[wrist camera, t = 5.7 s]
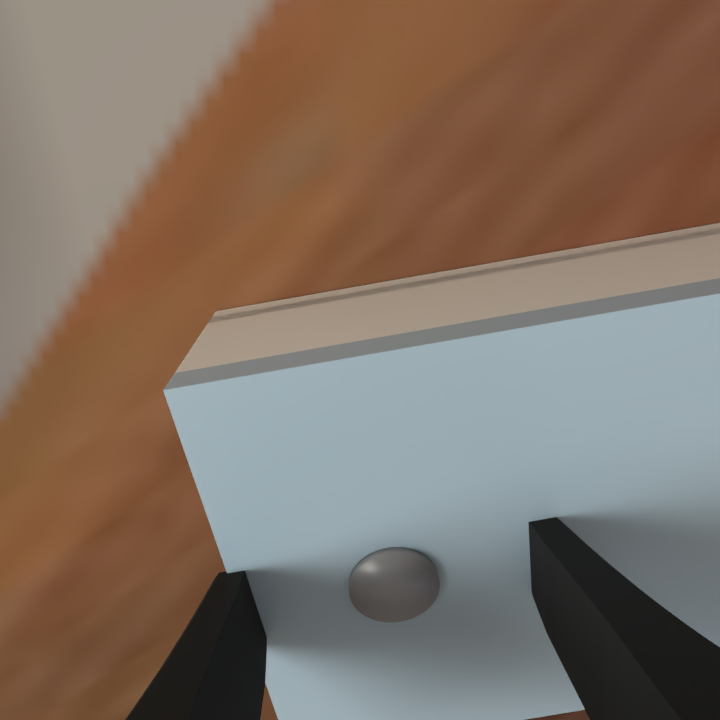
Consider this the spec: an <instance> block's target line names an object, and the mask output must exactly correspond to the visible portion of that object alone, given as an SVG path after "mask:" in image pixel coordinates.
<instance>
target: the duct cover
mask: <svg viewBox="0 0 720 720" xmlns="http://www.w3.org/2000/svg"><path fill="white" fill-rule="evenodd" d="M163 391H164V394H165V397H166V400H167V403H168V406H169V408H170V411H171V414H172V417H173V420H174V423H175V426H176V428H177V431H178V434H179V437H180V440H181V443H182V446H183V448H184V451H185V454H186V457H187V460H188V463H189V466H190V468H191V471H192V474H193V477H194V480H195V483H196V486H197V489H198V491H199V494H200V497H201V500H202V503H203V506H204V509H205V511H206V514H207V517H208V520H209V523H210V526H211V529H212V531H213V534H214V537H215V540H216V543H217V546H218V549H219V551H220V554H221V557H222V560H223V563H224V566H225V569H226V571H227V573H233V572H239V571H244V570H245V573H246V576H247V579H248V582H249V585H250V588H251V591H252V594H253V597H254V600H255V603H256V606H257V609H258V612H259V615H260V618H261V621H262V624H263V627H264V630H265V633H266V636H267V654H266V677H265V683H266V686H267V689H268V692H269V694H270V697H271V700H272V703H273V706H274V709H275V712H276V714H277V717H278V720H525V719H531V718H537V717H543V716H549V715H555V714H561V713H567V712H573V711H579V710H585V708H584V706H583V704H582V702H581V700H580V698H579V697H578V695H577V693H576V691H575V689H574V687H573V685H572V683H571V681H570V679H569V677H568V675H567V673H566V671H565V669H564V667H563V665H562V663H561V661H560V659H559V657H558V655H557V653H556V651H555V649H554V647H553V645H552V643H551V641H550V639H549V637H548V635H547V632H546V630H545V627H544V625H543V622H542V620H541V617H540V614H539V612H538V609H537V606H536V604H535V601H534V598H533V595H532V590H531V567H530V545H529V523H528V522H531V521H537V520H542V519H548V518H553V517H557V518H558V519H559V520H561V521H562V522H563V523H564V524H565V525H566V526H567V527H569V528H570V529H571V530H572V531H573V532H574V533H575V534H576V535H577V536H578V537H579V538H581V539H582V540H583V541H584V542H585V543H586V544H587V545H588V546H590V547H591V548H592V549H593V550H594V551H595V552H596V553H598V554H599V555H600V556H601V557H602V558H603V559H604V560H606V561H607V562H608V563H609V564H610V565H611V566H613V567H614V568H615V569H616V570H617V571H619V572H620V573H621V574H622V575H624V576H625V577H626V578H627V579H628V580H630V581H631V582H632V583H633V584H635V585H636V586H637V587H638V588H639V589H641V590H642V591H643V592H644V593H646V594H647V595H648V596H650V597H651V598H652V599H653V600H655V601H656V602H657V603H659V604H660V605H661V606H663V607H664V608H665V609H667V610H668V611H669V612H671V613H672V614H673V615H675V616H676V617H677V618H679V619H680V620H681V621H683V622H684V623H686V624H687V625H688V626H690V627H691V628H693V629H694V630H695V631H697V632H698V633H700V634H701V635H702V636H704V637H705V638H707V639H708V640H710V641H711V642H713V643H714V644H716V645H717V646H719V647H720V278H717V279H711V280H706V281H700V282H694V283H688V284H683V285H677V286H671V287H665V288H660V289H654V290H648V291H642V292H637V293H631V294H625V295H620V296H614V297H608V298H602V299H597V300H591V301H585V302H579V303H574V304H568V305H562V306H556V307H551V308H545V309H539V310H533V311H528V312H522V313H516V314H510V315H505V316H499V317H493V318H487V319H482V320H476V321H470V322H464V323H459V324H453V325H447V326H442V327H436V328H430V329H424V330H419V331H413V332H407V333H401V334H396V335H390V336H384V337H378V338H373V339H367V340H361V341H355V342H350V343H344V344H338V345H332V346H327V347H321V348H315V349H309V350H304V351H298V352H292V353H286V354H281V355H275V356H269V357H264V358H258V359H252V360H246V361H241V362H235V363H229V364H223V365H218V366H212V367H206V368H200V369H195V370H189V371H183V372H177V373H175V374H174V375H173V377H172V378H171V379H170V381H169V382H168V384H167V385H166V387H165V388H164V390H163Z"/></svg>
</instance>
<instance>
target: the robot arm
mask: <svg viewBox="0 0 720 720" xmlns="http://www.w3.org/2000/svg"><path fill="white" fill-rule="evenodd" d="M528 523H529V545H530V567H531V590H532V595H533V598H534V601H535V604H536V606H537V609H538V612H539V614H540V617H541V620H542V622H543V625H544V627H545V630H546V632H547V635H548V637H549V639H550V641H551V643H552V645H553V647H554V649H555V651H556V653H557V655H558V657H559V659H560V661H561V663H562V665H563V667H564V669H565V671H566V673H567V675H568V677H569V679H570V681H571V683H572V685H573V687H574V689H575V691H576V693H577V695H578V697H579V698H580V700H581V702H582V704H583V706H584V708H585V710H586V712H587V714H588V716H589V718H590V720H720V647H719V646H717V645H716V644H714V643H713V642H711V641H710V640H708V639H707V638H705V637H704V636H702V635H701V634H700V633H698V632H697V631H695V630H694V629H693V628H691V627H690V626H688V625H687V624H686V623H684V622H683V621H681V620H680V619H679V618H677V617H676V616H675V615H673V614H672V613H671V612H669V611H668V610H667V609H665V608H664V607H663V606H661V605H660V604H659V603H657V602H656V601H655V600H653V599H652V598H651V597H650V596H648V595H647V594H646V593H644V592H643V591H642V590H641V589H639V588H638V587H637V586H636V585H635V584H633V583H632V582H631V581H630V580H628V579H627V578H626V577H625V576H624V575H622V574H621V573H620V572H619V571H617V570H616V569H615V568H614V567H613V566H611V565H610V564H609V563H608V562H607V561H606V560H604V559H603V558H602V557H601V556H600V555H599V554H598V553H596V552H595V551H594V550H593V549H592V548H591V547H590V546H588V545H587V544H586V543H585V542H584V541H583V540H582V539H581V538H579V537H578V536H577V535H576V534H575V533H574V532H573V531H572V530H571V529H570V528H569V527H567V526H566V525H565V524H564V523H563V522H562V521H561V520H559V519H558V518H557V517H553V518H548V519H542V520H537V521H531V522H528ZM266 654H267V636H266V633H265V630H264V627H263V624H262V621H261V618H260V615H259V612H258V609H257V606H256V603H255V600H254V597H253V594H252V591H251V588H250V585H249V582H248V579H247V576H246V573H245V570H244V571H239V572H233V573H227V572H221V573H219V574H218V575H217V576H216V578H215V579H214V581H213V583H212V584H211V586H210V588H209V590H208V591H207V593H206V595H205V596H204V598H203V600H202V602H201V603H200V605H199V607H198V608H197V610H196V612H195V614H194V615H193V617H192V619H191V620H190V622H189V624H188V625H187V627H186V629H185V630H184V632H183V634H182V635H181V637H180V638H179V640H178V642H177V643H176V645H175V646H174V648H173V650H172V651H171V653H170V654H169V656H168V658H167V659H166V661H165V662H164V664H163V665H162V667H161V669H160V670H159V672H158V673H157V675H156V676H155V678H154V679H153V680H152V682H151V683H150V685H149V686H148V688H147V689H146V691H145V692H144V694H143V695H142V696H141V698H140V699H139V701H138V702H137V704H136V705H135V707H134V708H133V710H132V711H131V712H130V714H129V715H128V717H127V718H126V719H125V720H260V716H261V709H262V702H263V695H264V687H265V677H266Z"/></svg>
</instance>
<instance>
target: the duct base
mask: <svg viewBox="0 0 720 720" xmlns="http://www.w3.org/2000/svg"><path fill="white" fill-rule="evenodd" d="M717 278H720V223H717V224H711V225H705V226H699V227H694V228H688V229H682V230H677V231H671V232H665V233H660V234H654V235H648V236H642V237H637V238H631V239H625V240H620V241H614V242H608V243H602V244H597V245H591V246H585V247H580V248H574V249H568V250H563V251H557V252H551V253H545V254H540V255H534V256H528V257H523V258H517V259H511V260H505V261H500V262H494V263H488V264H483V265H477V266H471V267H466V268H460V269H454V270H448V271H443V272H437V273H431V274H426V275H420V276H414V277H408V278H403V279H397V280H391V281H386V282H380V283H374V284H369V285H363V286H357V287H351V288H346V289H340V290H334V291H329V292H323V293H317V294H312V295H306V296H300V297H294V298H289V299H283V300H277V301H272V302H266V303H260V304H254V305H249V306H243V307H237V308H232V309H226V310H220V311H216V312H215V313H214V315H213V316H212V318H211V319H210V321H209V322H208V324H207V325H206V327H205V328H204V330H203V331H202V333H201V334H200V336H199V337H198V339H197V340H196V342H195V343H194V345H193V347H192V348H191V350H190V351H189V353H188V354H187V356H186V357H185V359H184V360H183V362H182V363H181V365H180V366H179V368H178V369H177V371H176V372H175V373H177V372H183V371H189V370H195V369H200V368H206V367H212V366H218V365H223V364H229V363H235V362H241V361H246V360H252V359H258V358H264V357H269V356H275V355H281V354H286V353H292V352H298V351H304V350H309V349H315V348H321V347H327V346H332V345H338V344H344V343H350V342H355V341H361V340H367V339H373V338H378V337H384V336H390V335H396V334H401V333H407V332H413V331H419V330H424V329H430V328H436V327H442V326H447V325H453V324H459V323H464V322H470V321H476V320H482V319H487V318H493V317H499V316H505V315H510V314H516V313H522V312H528V311H533V310H539V309H545V308H551V307H556V306H562V305H568V304H574V303H579V302H585V301H591V300H597V299H602V298H608V297H614V296H620V295H625V294H631V293H637V292H642V291H648V290H654V289H660V288H665V287H671V286H677V285H683V284H688V283H694V282H700V281H706V280H711V279H717Z"/></svg>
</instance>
